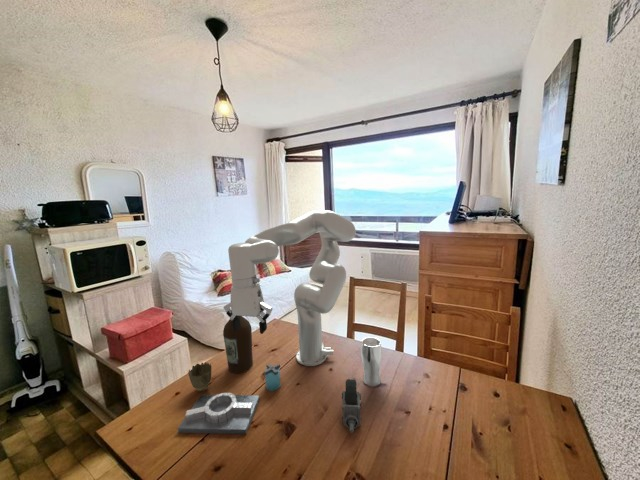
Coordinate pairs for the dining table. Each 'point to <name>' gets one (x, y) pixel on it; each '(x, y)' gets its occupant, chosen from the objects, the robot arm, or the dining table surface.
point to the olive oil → (238, 346)
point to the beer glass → (371, 360)
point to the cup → (200, 376)
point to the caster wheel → (351, 406)
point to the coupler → (272, 377)
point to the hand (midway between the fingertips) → (250, 330)
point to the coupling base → (224, 426)
